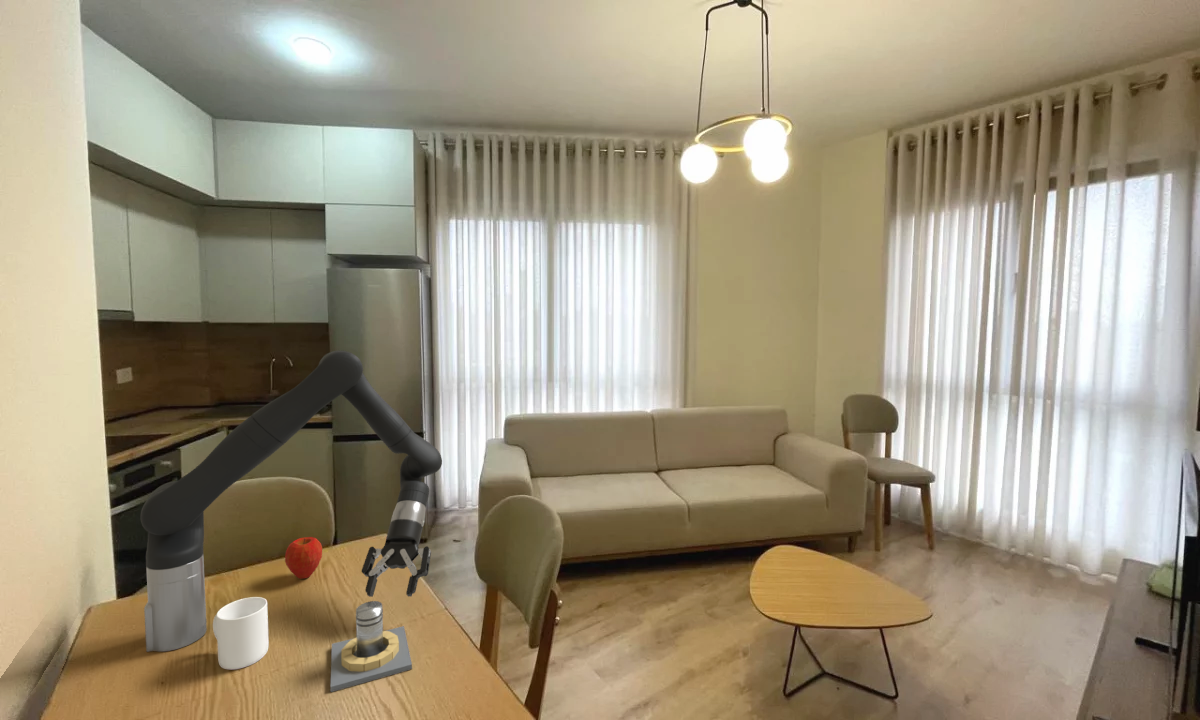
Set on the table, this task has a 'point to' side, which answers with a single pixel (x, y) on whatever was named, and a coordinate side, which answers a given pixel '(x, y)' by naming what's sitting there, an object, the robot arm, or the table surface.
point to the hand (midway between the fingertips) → (389, 595)
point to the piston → (369, 629)
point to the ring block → (369, 660)
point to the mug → (241, 632)
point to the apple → (303, 556)
